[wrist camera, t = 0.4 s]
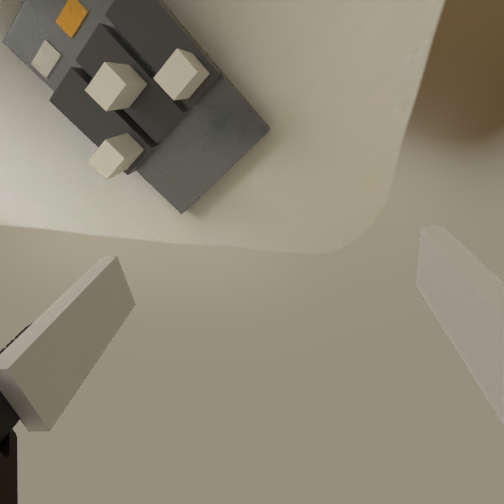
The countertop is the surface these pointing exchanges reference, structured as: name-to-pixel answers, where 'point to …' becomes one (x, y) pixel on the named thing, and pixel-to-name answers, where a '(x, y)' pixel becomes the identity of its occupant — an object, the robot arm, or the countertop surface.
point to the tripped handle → (115, 86)
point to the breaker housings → (158, 86)
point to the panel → (168, 150)
